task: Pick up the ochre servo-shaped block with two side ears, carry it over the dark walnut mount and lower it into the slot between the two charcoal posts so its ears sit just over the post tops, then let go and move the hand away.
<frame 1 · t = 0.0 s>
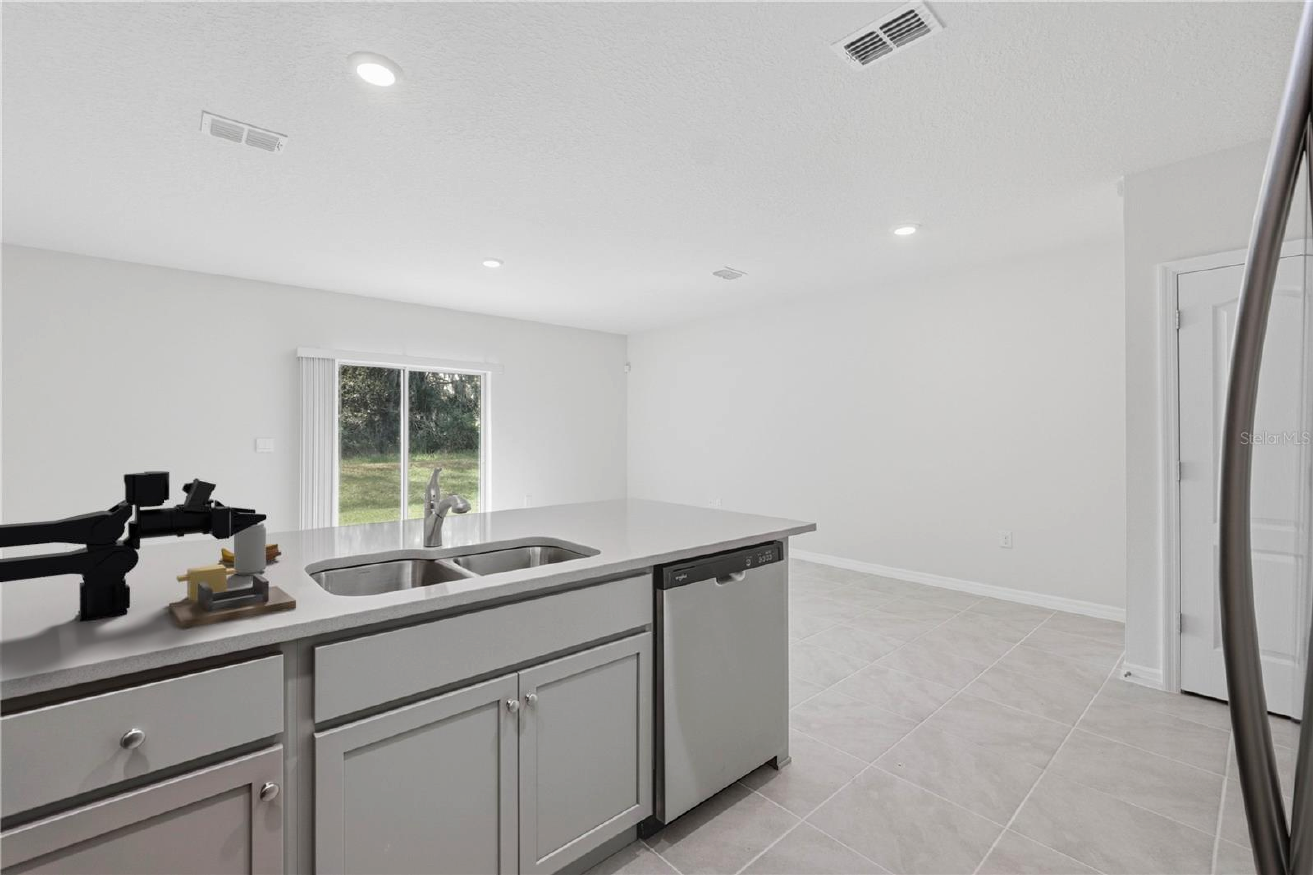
hand: (260, 514, 129), 17 cm above the worktop, tool horizontal, fingers open, 9 cm apart
beverage can: (250, 573, 142), on the worktop
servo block: (206, 596, 123), on the worktop
toy sandwich meal: (251, 563, 153), on the worktop
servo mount: (233, 609, 115), on the worktop
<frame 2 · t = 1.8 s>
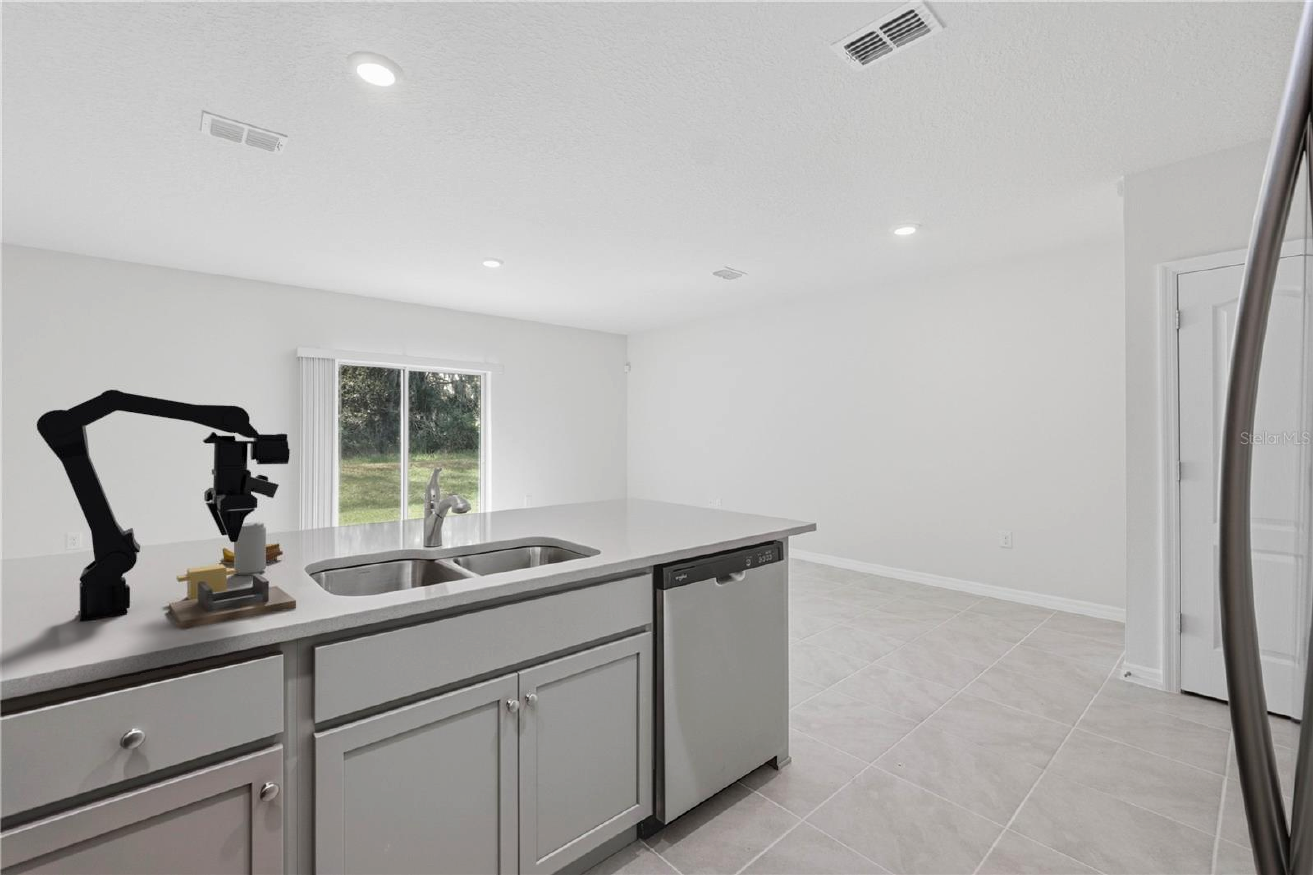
hand: (229, 538, 123), 12 cm above the worktop, tool pointing down, fingers open, 9 cm apart
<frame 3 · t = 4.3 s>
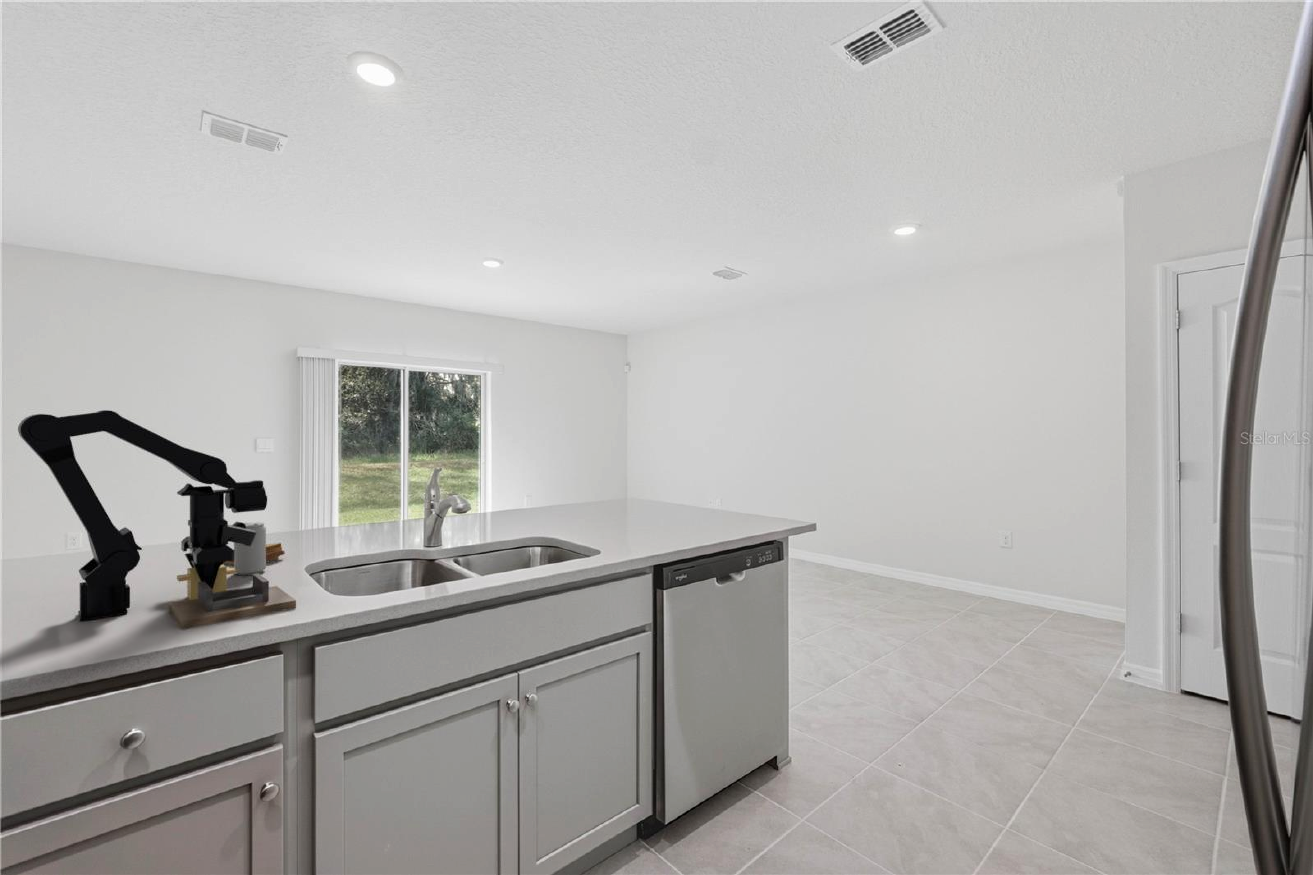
hand: (206, 588, 123), 2 cm above the worktop, tool pointing down, fingers closed on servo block, 4 cm apart
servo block: (207, 596, 123), on the worktop, touching gripper
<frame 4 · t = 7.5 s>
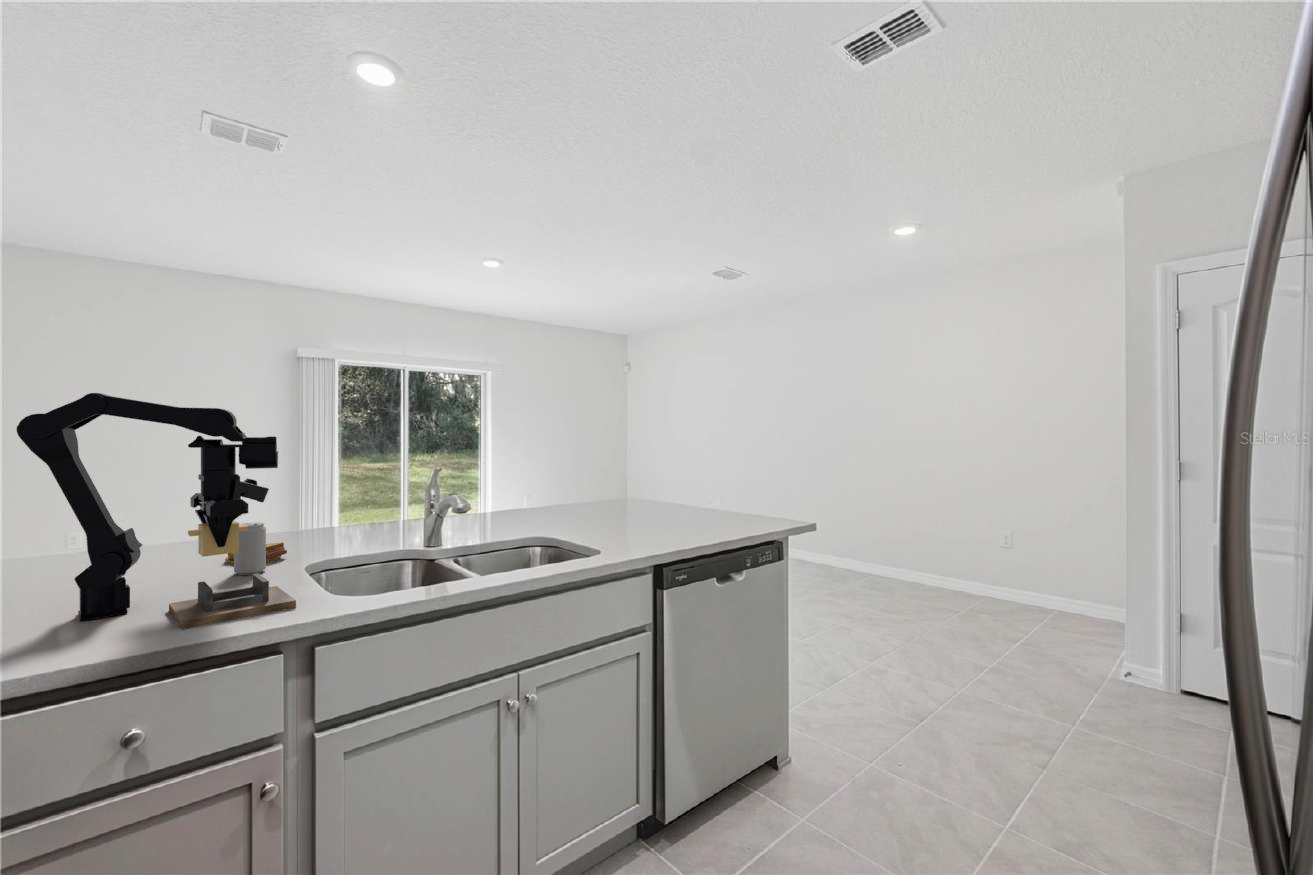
hand: (218, 545, 119), 12 cm above the worktop, tool pointing down, fingers closed on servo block, 4 cm apart
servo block: (218, 552, 119), point 10 cm above the worktop, touching gripper
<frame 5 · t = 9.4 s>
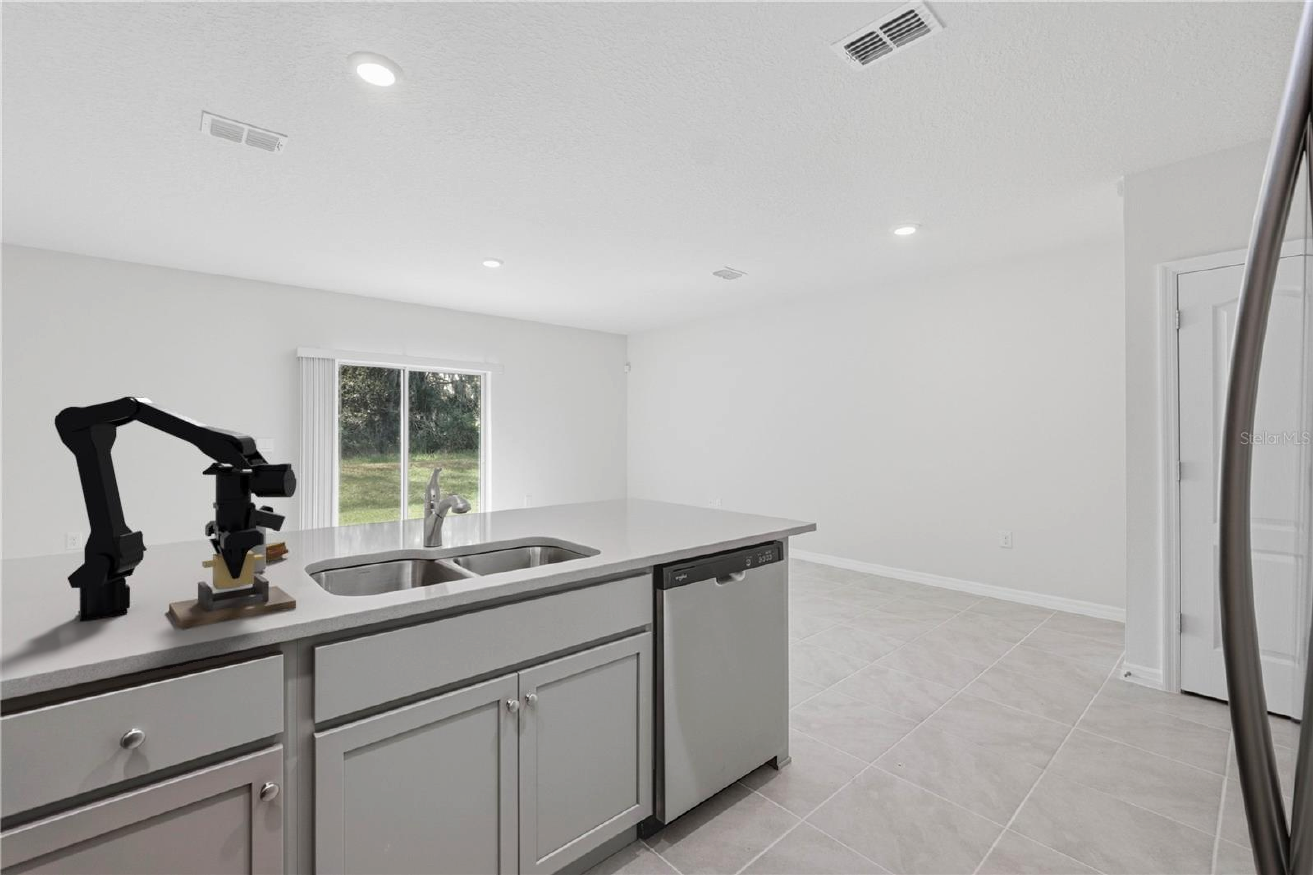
hand: (233, 576, 115), 7 cm above the worktop, tool pointing down, fingers closed on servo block, 4 cm apart
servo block: (233, 584, 115), point 5 cm above the worktop, touching gripper
when the fingers open (4 cm above the worktop, at t = 11.0 s): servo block stays where it is, resting on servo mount.
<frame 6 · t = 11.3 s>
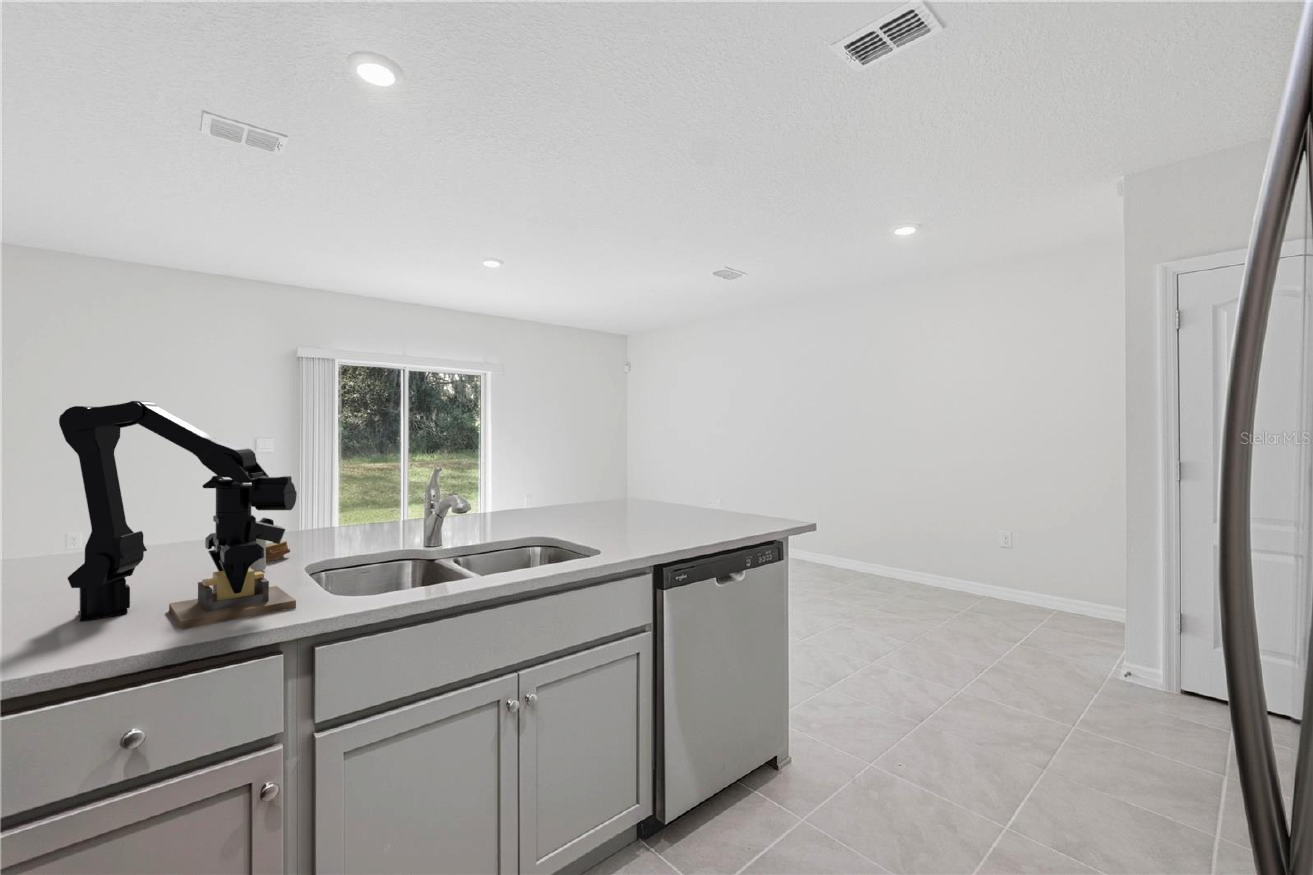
hand: (233, 589, 115), 4 cm above the worktop, tool pointing down, fingers open, 7 cm apart
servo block: (233, 601, 115), point 1 cm above the worktop, touching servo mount
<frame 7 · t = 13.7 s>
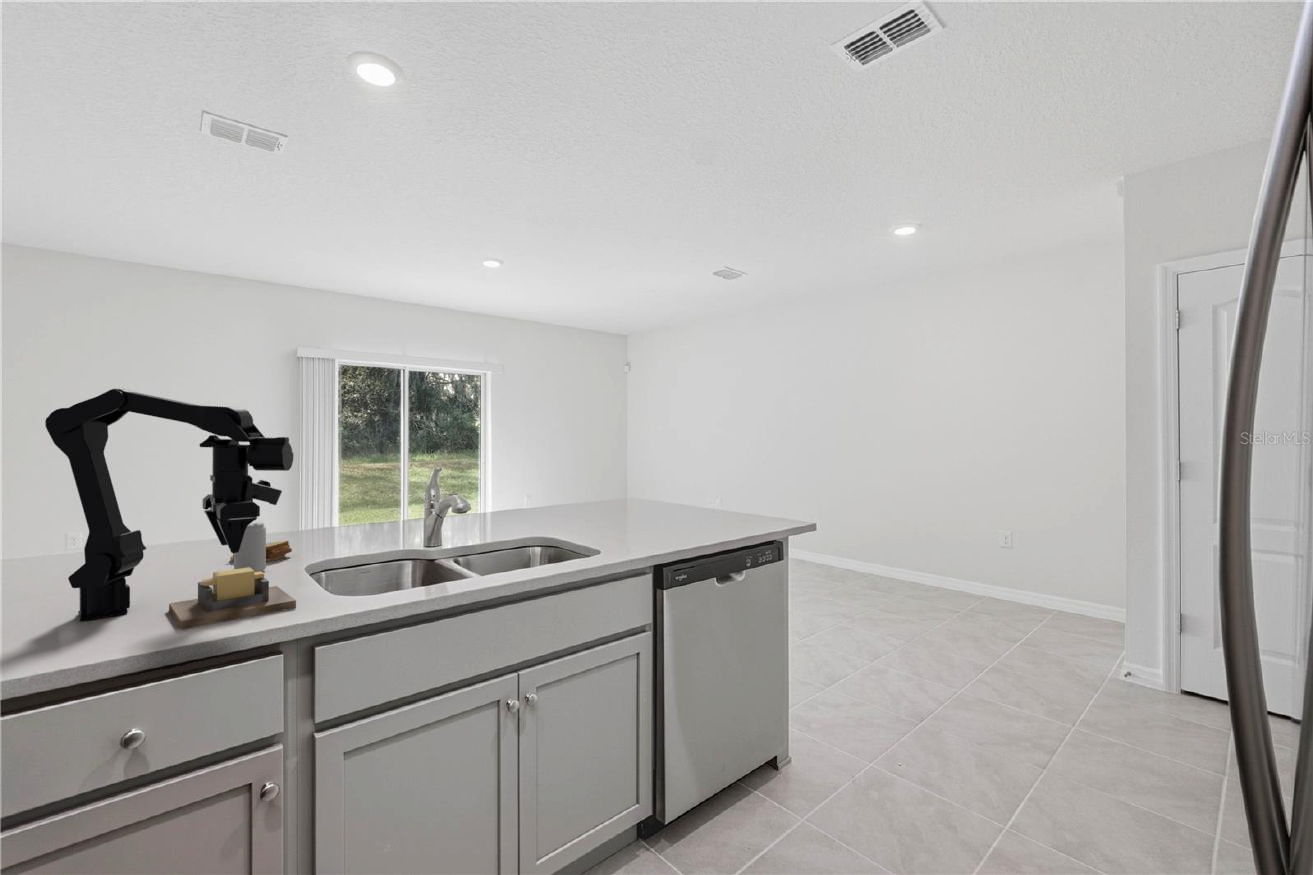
hand: (229, 548, 115), 12 cm above the worktop, tool pointing down, fingers open, 9 cm apart
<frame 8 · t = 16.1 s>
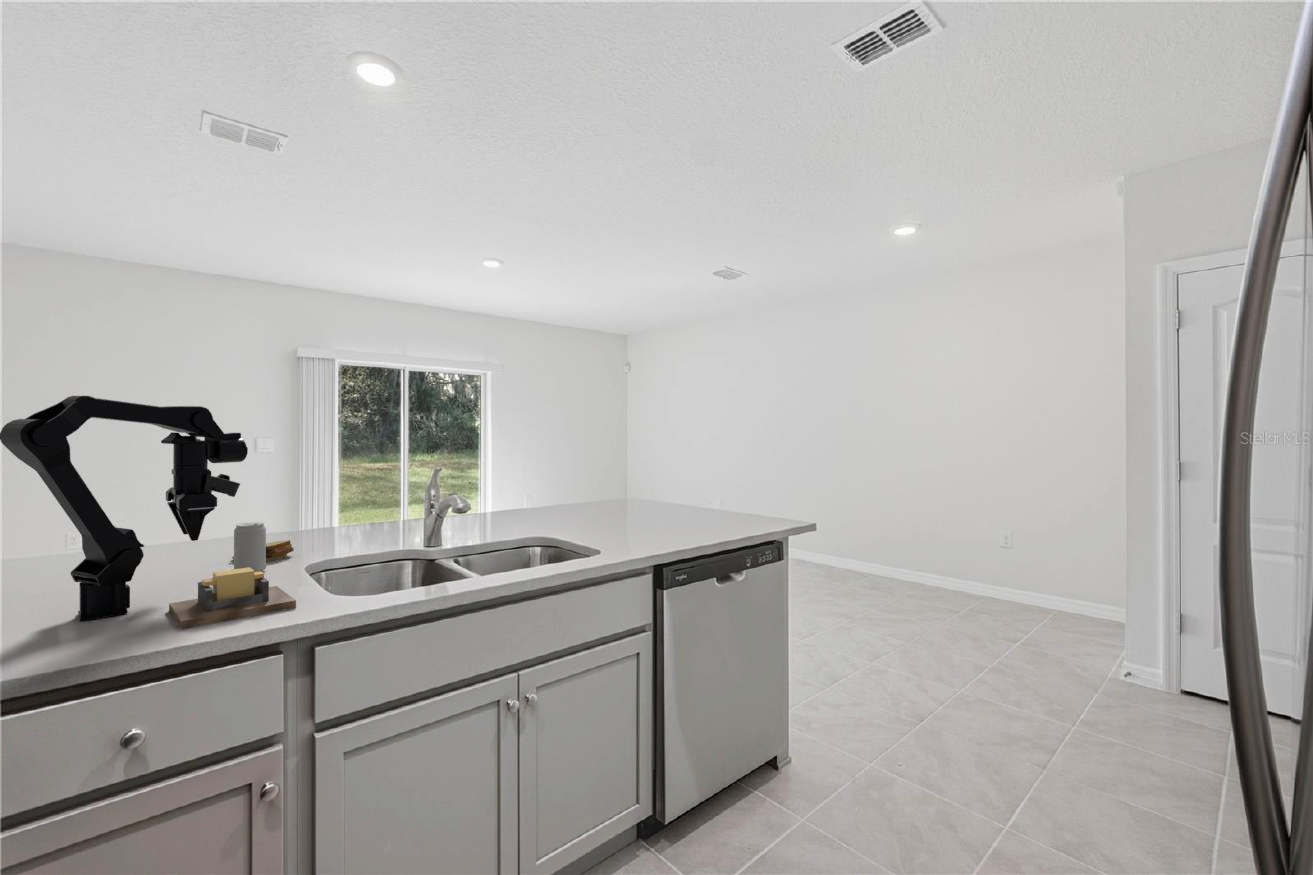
hand: (190, 537, 125), 12 cm above the worktop, tool pointing down, fingers open, 9 cm apart
at the end: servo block 0.0 cm off-centre on the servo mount, point 1.5 cm above the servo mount's base; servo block tilted 0°; the gripper is holding nothing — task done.
